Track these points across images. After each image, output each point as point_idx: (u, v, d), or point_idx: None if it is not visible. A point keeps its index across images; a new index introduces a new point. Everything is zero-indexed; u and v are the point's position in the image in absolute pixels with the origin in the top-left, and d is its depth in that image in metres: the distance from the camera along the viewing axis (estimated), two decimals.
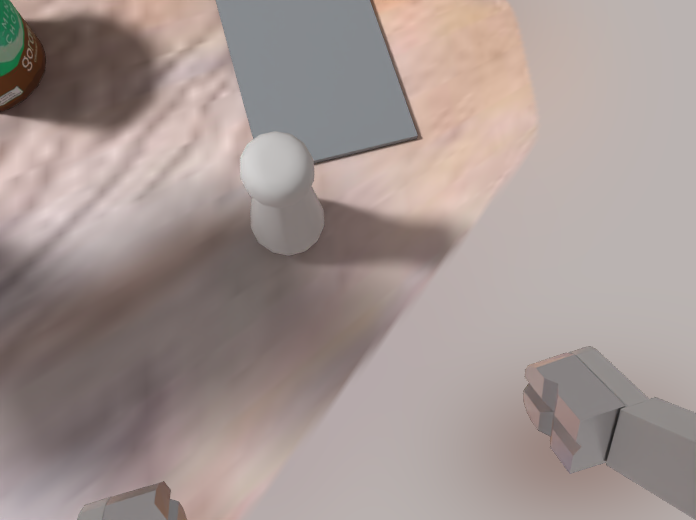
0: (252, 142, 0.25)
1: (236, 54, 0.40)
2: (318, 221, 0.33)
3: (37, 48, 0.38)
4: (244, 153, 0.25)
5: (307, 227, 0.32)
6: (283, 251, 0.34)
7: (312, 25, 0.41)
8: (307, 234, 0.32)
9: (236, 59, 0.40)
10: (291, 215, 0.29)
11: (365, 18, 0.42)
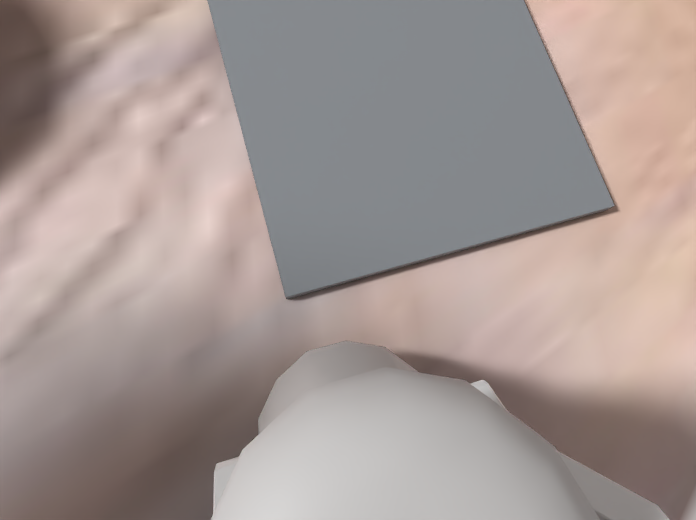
0: (270, 473, 0.04)
1: (229, 36, 0.19)
2: None
3: None
4: None
5: None
6: None
7: None
8: None
9: (229, 46, 0.19)
10: None
11: None
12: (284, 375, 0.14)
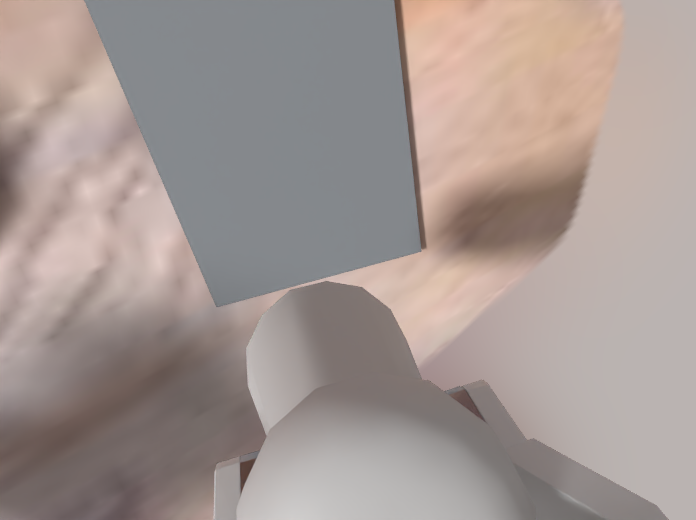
0: (295, 481, 0.05)
1: (150, 126, 0.23)
2: None
3: None
4: None
5: None
6: None
7: (285, 66, 0.23)
8: None
9: (151, 136, 0.23)
10: None
11: (380, 53, 0.23)
12: (270, 313, 0.15)
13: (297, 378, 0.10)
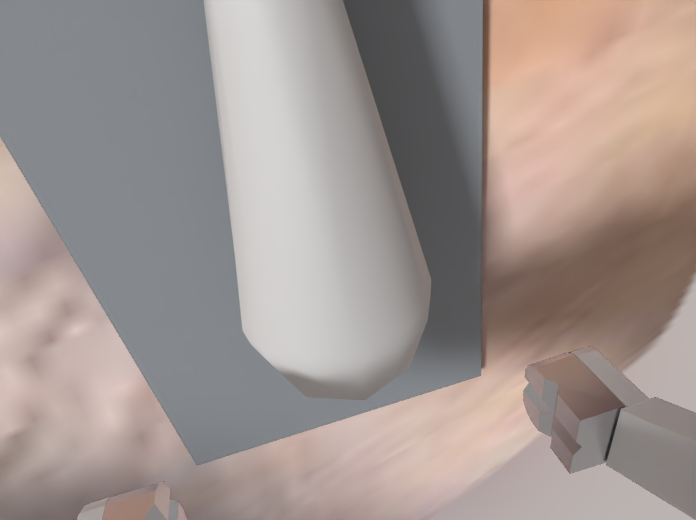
0: None
1: (85, 245, 0.14)
2: (413, 231, 0.12)
3: None
4: None
5: (388, 205, 0.11)
6: (339, 335, 0.11)
7: None
8: (394, 245, 0.11)
9: (88, 259, 0.14)
10: (328, 93, 0.09)
11: (453, 126, 0.15)
12: None
13: None
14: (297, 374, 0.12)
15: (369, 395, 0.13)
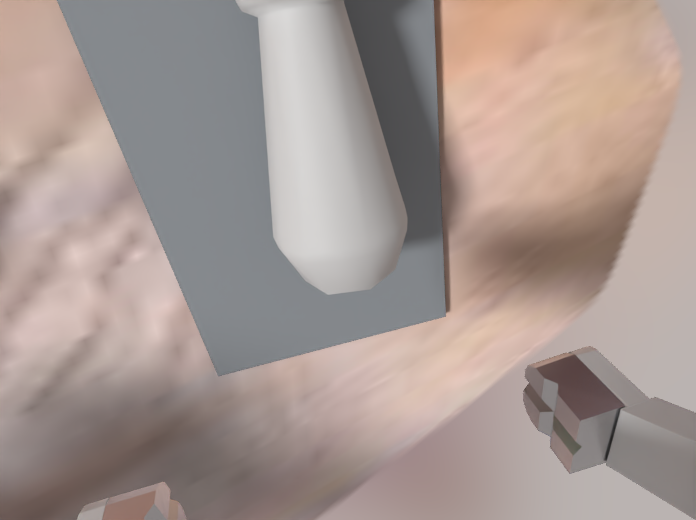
0: None
1: (150, 188, 0.20)
2: None
3: None
4: None
5: (380, 147, 0.17)
6: (357, 232, 0.17)
7: None
8: (386, 173, 0.17)
9: (152, 198, 0.20)
10: (345, 74, 0.15)
11: (416, 111, 0.20)
12: None
13: None
14: (326, 269, 0.17)
15: (372, 285, 0.19)
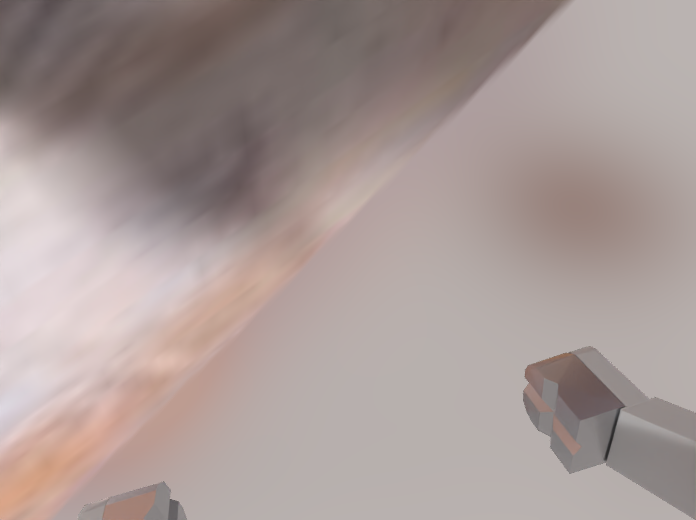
0: None
1: None
2: None
3: None
4: None
5: None
6: None
7: None
8: None
9: None
10: None
11: None
12: None
13: None
14: None
15: None
